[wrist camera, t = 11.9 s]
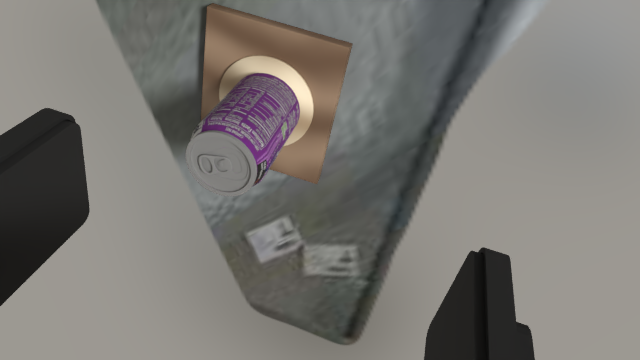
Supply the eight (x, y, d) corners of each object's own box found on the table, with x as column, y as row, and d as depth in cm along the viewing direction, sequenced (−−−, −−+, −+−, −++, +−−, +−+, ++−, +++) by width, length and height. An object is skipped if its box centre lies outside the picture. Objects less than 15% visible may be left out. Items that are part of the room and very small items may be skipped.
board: (212, 3, 47) (205, 7, 46) (352, 43, 46) (349, 49, 45) (203, 141, 57) (197, 148, 55) (319, 178, 56) (315, 186, 54)
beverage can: (243, 134, 53) (193, 199, 43) (228, 71, 49) (169, 127, 39) (307, 134, 51) (268, 202, 41) (295, 68, 47) (250, 126, 37)
